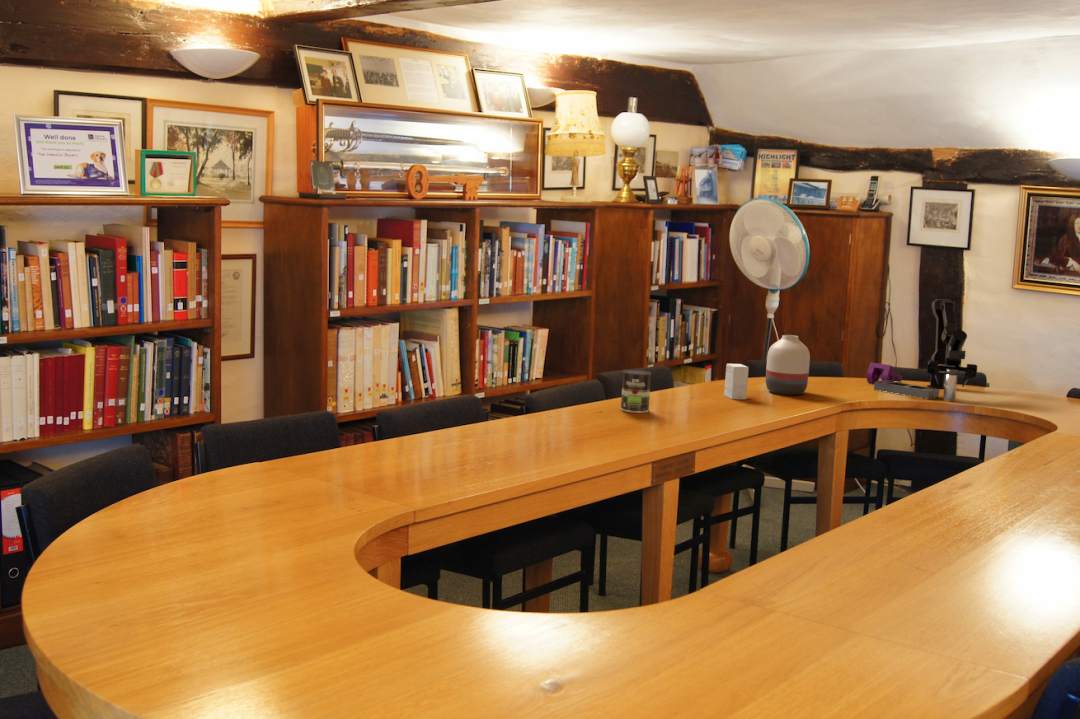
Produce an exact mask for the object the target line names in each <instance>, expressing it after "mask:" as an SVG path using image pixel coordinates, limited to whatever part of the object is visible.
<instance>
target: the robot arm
mask: <svg viewBox="0 0 1080 719" xmlns="http://www.w3.org/2000/svg"><path fill="white" fill-rule="evenodd" d="M955 304H956V302H955V301H952V300H951V299H947V298H946V299H945V298H944V299H943V298H942V299H941V298H935V300H934V301H932V303H931V309H932V314H933V316H934V317H935V320H936V323H935V327H936V328H935V347H934V348H935V349H934V350H935V351H934V353H933V354H932V356H931V357H930V359H929V361H927V370H926V372H927V374H929V375H930V383H929V384H927V385H926V387H930V388H936V389H939V390H941V389H944V386H945V377H946V369H957V370H958V373H964V376H963V381H962V384H961V385H962V388H964V387H965V385H966V384H967V382H968V381H969V380H971V379H973V378H976V377H977V373H978V365H977V364H975V363H966V366H961V363H962V361H961V360H965V359H966V350H962V349H963V347H964V346H965V342H966V340H967V338H968V334H967V333H966V332H965V331H964V330H962V327H961V328H960V326H958V325H957V322H956V320H957V319H956V315H955Z"/></svg>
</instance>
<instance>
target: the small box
mask: <svg viewBox="0 0 1080 719" xmlns="http://www.w3.org/2000/svg"><path fill="white" fill-rule="evenodd" d="M725 366H726V368H725V378H724V379H725V380H724V381H725V382H724V392H723V396H725V397H727V398H729V399H730V400H747V396H748V395H747V393H748V392H747V391H748V380H749V379H748V378H749V366H746V365H744V364H742V363H726V365H725Z"/></svg>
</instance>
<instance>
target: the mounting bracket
mask: <svg viewBox="0 0 1080 719" xmlns="http://www.w3.org/2000/svg"><path fill="white" fill-rule="evenodd" d="M880 378H881V381H883V380H888V381H900V383H902V379H903V376H902V375H901V374H900V373H899V372H898V371H897V370H896V369H895V368H894V367H893V366H892V365H891V364H884V363H877V362H870V363H869V366H868V369H867V371H866V381H867V383H868V384H871V383H873V384H872V385H874V382H877V381H880Z"/></svg>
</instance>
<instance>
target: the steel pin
mask: <svg viewBox="0 0 1080 719" xmlns="http://www.w3.org/2000/svg"><path fill="white" fill-rule="evenodd" d="M945 372H946V374H945V381H944V388H943V395H942V396H943V397H942V398H943V399H942V401H943V400H946V401H945V402H947V401H955V400H956V392H957V383H958V376H959V372H958V370H957V369H946V371H945Z"/></svg>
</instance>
